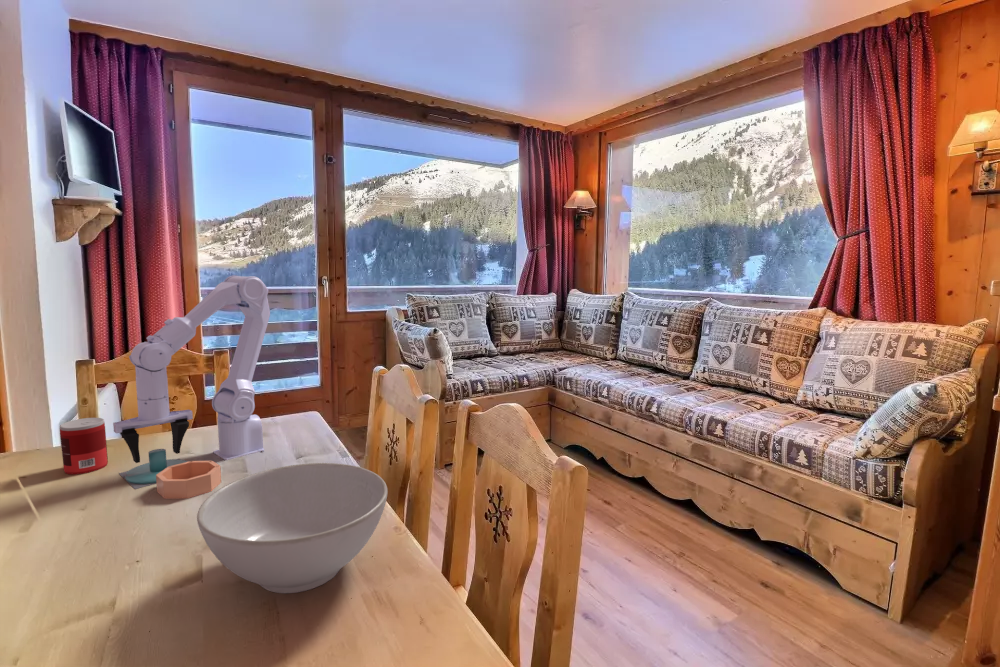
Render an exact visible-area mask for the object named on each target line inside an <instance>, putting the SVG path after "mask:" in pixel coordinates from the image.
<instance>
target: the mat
mask: <svg viewBox="0 0 1000 667" xmlns="http://www.w3.org/2000/svg"><path fill="white" fill-rule="evenodd" d="M177 459H178V460H182V459H181V458H177ZM128 471H129V470H126V471H123V472H118V475H120V476H121V477H122V478H123V479H124V481H126V476H125V475H126V473H127V472H128ZM126 482H127V483H128V484H129V486H131V487H132V488H133V489H134V490H137V489H138V490H139V489H142V488H146V487H149V486H153V485H157V483H150V484H134V483H130V482H128V481H126Z"/></svg>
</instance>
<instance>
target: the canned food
mask: <svg viewBox="0 0 1000 667" xmlns="http://www.w3.org/2000/svg"><path fill="white" fill-rule="evenodd" d="M59 436H60V446H61V457H62V465H63V466H62V467H63V471H64V473H65V474H67V475H71V476H72V475H81V474H90V473H92V472H96V471H100V470H101V469H104V468H105V467H107V466H108V463H109V458H108V447H107V434H106V425H105V419H104V418H101V417H86V418H78V419H73V420H69V421H66V422H63V423H61V424H60V426H59Z"/></svg>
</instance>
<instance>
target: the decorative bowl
mask: <svg viewBox="0 0 1000 667" xmlns="http://www.w3.org/2000/svg"><path fill="white" fill-rule="evenodd" d="M388 490H389V489H388V486H387V484H386V482H385V481H384V479H383V478H382V477H381V476H380V475H379V474H377V473H375V472H374V471H371V470H370V469H367V468H364V467H361V466H356V465H352V464H345V463H338V462H337V463H335V462H334V463H333V462H313V463H300V464H292V465H286V466H280V467H276V468H270V469H266V470H262V471H258V472H256V473H253V474H250V475H246V476H243V477H241V478H239V479H236V480H234V481H232V482H229V483H228V484H226V485H224V486H222V487H221V488H219V489H217V490H216V491H214V492H213V493H212V494H211V495H209V496H208V497H207V498H206V499H205V500H204V501H203V502H202V504H200V507H199V508H198V511H197V514H196V521H197V526H198V528H199V531H200V533H201V536H202V537H203V540H204V541H205V543H206V546H207V547H208V549H210V551H211V553H212V554H213V555H214V556H215V557H216V559H217V560H218V561H219V562H220V563H221V564H222V565H223V566H224V567H225V568H226V569H228V570H229V571H230V572H232V573H234V575H237V576H238V577H240V578H242V579H244V580H246V581H248V582H250V583H254V584H257V585H260V587H261V588H262V589H264V590H266V591H269V592H273V593H277V594H295V593H302V592H306V591H309V590H312V589H315V588H317V587H319V586H322V585H324V584H326V583H328V582H329V581H331V580H332V579H334V578H335V576H336V575H337V574H338V573H339V571H340V570H341V569H343V567H344V566H346V565H347V564H349V563H350V562H351V561H353V559H354V558H355V557H357V555H358V554H359V553H360V552H361V551H362V550H363V549H364V547H365V546H366V544H368V542H369V541H370V539H371V538H372V535H374V532H375V531H376V529H377V527H378V525H379V523H380V520H381V518H382V516H383V513H384V510H385V506H386V503H387V498H388V492H389V491H388Z"/></svg>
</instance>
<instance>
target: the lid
mask: <svg viewBox="0 0 1000 667" xmlns="http://www.w3.org/2000/svg"><path fill="white" fill-rule="evenodd" d="M178 459H179V458H175V459H174V458H173V459H171V458H170V459H169V458H168V459H167V451H166V448H155V449H151V450H149V451H148V462H147V463H143V464H141V465H137V466H135V467H132V468H131V469H129V470H127V471H128V472H127V473H126V475H125V476H126V480H125V481H126V482H127V481H128V482H130V483H134V484H150V483H157V482H156V475H157V474H158V473H160V472H161V471H163V470H164V469H166V468H167V467H169V466H173V465H177V464H181V463H185V462H189V461H187V460H184V459H181V460H178ZM128 482H127V483H128Z"/></svg>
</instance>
